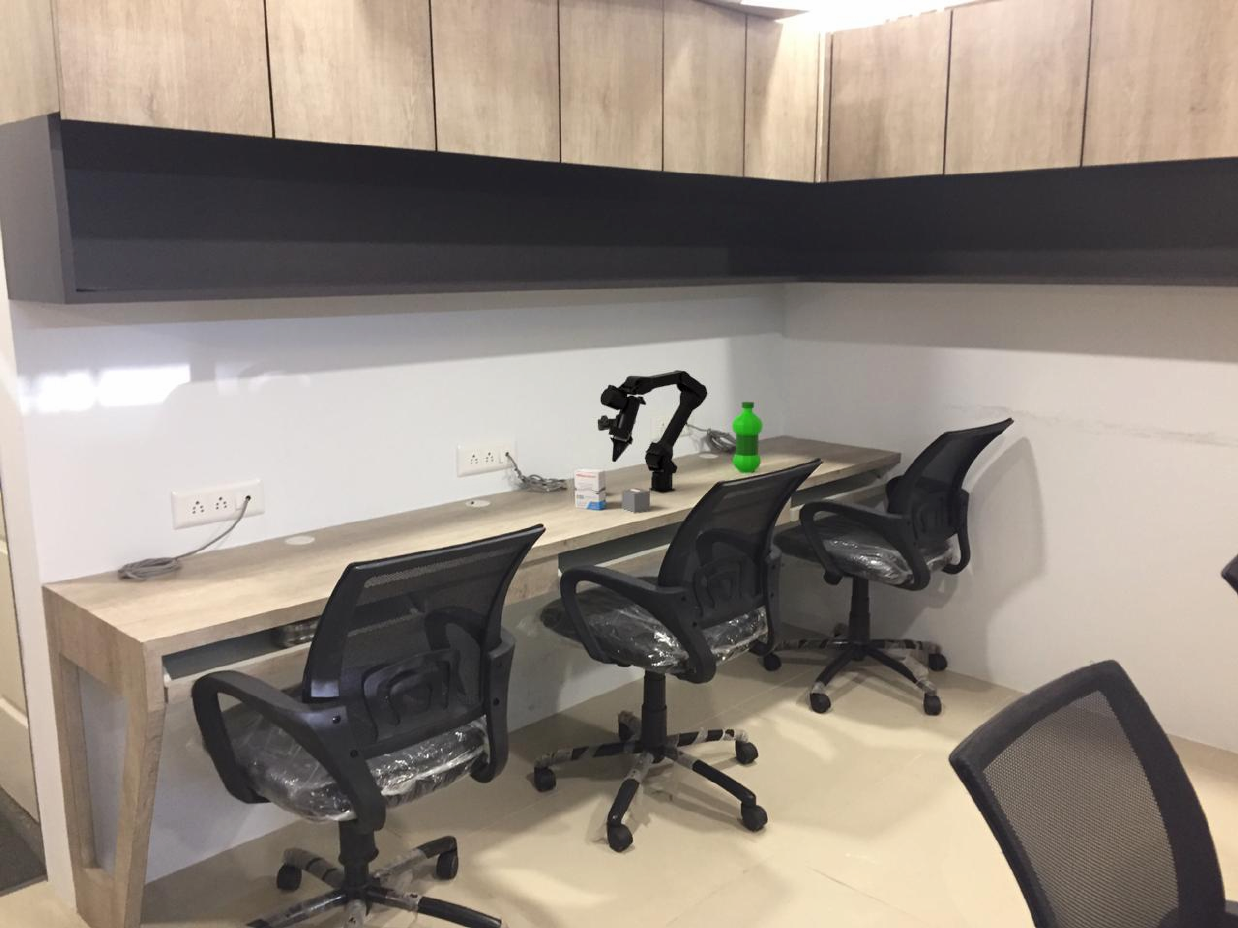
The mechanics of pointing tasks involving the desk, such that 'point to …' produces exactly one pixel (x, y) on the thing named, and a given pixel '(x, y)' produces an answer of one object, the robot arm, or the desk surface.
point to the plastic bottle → (747, 439)
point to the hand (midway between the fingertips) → (613, 461)
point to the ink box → (590, 489)
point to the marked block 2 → (636, 500)
